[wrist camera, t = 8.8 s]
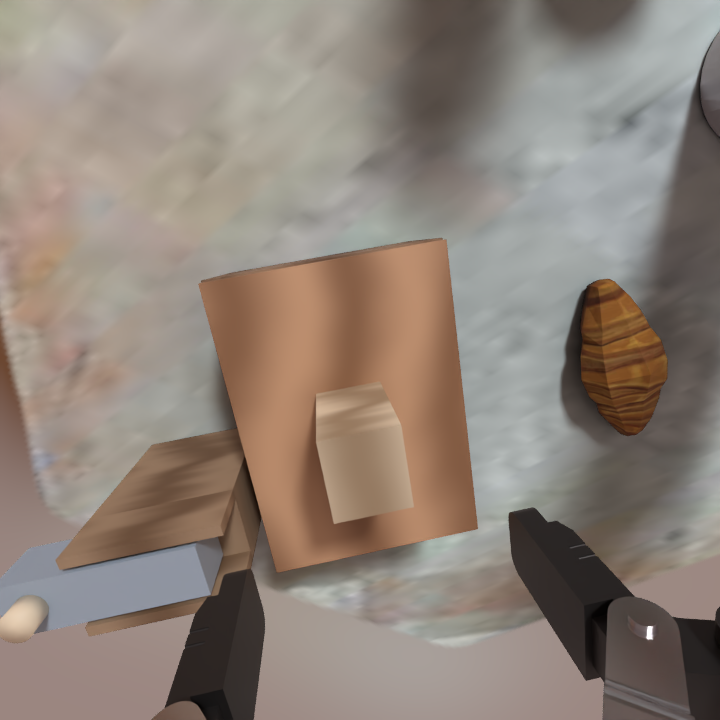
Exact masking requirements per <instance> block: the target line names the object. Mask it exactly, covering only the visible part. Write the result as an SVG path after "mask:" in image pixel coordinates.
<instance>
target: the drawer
mask: <svg viewBox="0 0 720 720" xmlns="http://www.w3.org/2000/svg"><path fill="white" fill-rule="evenodd" d="M72 540H73V539H71V540H66V541H61V542H57V543H52V544H47V545H42V546H38V547H32V548H29V549H28V550H27V551H26V552H25V553H24V554H23V555H22V556H21V557H20V558H19V559H18V560H17V562H16V563H15V564H14V565H13V566H12V567H11V568H10V569H9V570H8V571H7V572H6V573H5V574H4V575H3V576H2V577H1V578H0V615H1V617H2V618H1V619H0V637H1V638H2V639H3V640H5V641H8V642H11V643H22V642H25V641H27V640H28V639H30V638H31V636H32V635H33V634H35V633H39V632H44V631H48V630H53V629H58V628H62V627H67V626H71V625H76V624H80V623H85V622H90V621H94V620H99V619H103V618H108V617H112V616H117V615H122V614H126V613H131V612H135V611H140V610H144V609H149V608H154V607H158V606H163V605H167V604H172V603H176V602H181V601H185V600H190V599H195V598H199V597H204V596H208V595H211V593H212V589H213V586H214V583H215V580H216V576H217V573H218V570H219V567H220V563H221V560H222V557H223V552H222V549H221V545H220V542H219V539H218V537H214V538H209V539H204V540H200V541H195V542H190V543H185V544H181V545H176V546H171V547H167V548H162V549H157V550H152V551H148V552H143V553H138V554H133V555H129V556H124V557H119V558H115V559H110V560H105V561H100V562H96V563H91V564H86V565H81V566H77V567H72V568H67V569H63V570H59V567H58V565H57V563H56V561H55V560H56V558H57V557H58V556H59V555H60V554H61V553H62V551H63V550H64V549H65V548H66V547H67V545H68V544H69V543H70V542H71V541H72Z"/></svg>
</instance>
